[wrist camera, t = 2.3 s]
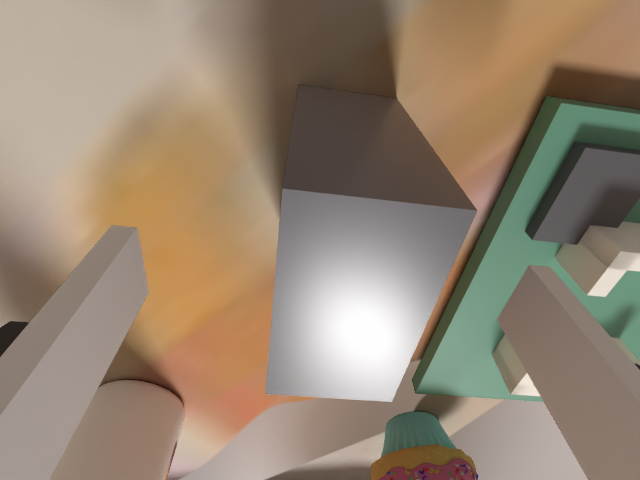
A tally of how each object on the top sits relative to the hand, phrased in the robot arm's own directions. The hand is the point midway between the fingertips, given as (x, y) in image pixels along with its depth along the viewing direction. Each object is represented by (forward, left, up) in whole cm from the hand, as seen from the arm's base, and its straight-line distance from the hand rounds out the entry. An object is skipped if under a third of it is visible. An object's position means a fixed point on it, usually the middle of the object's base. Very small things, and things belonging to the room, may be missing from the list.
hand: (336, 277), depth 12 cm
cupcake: (+24, +11, -8) cm, 27 cm away
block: (0, 0, -8) cm, 8 cm away
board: (+6, +17, -8) cm, 20 cm away
